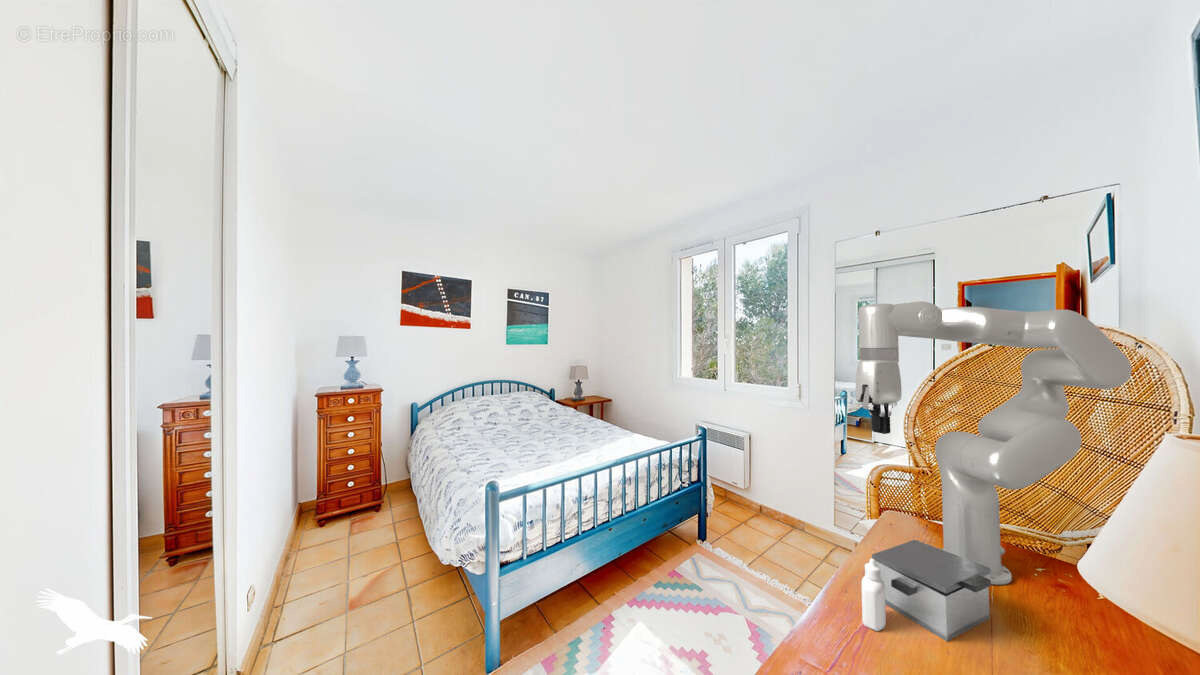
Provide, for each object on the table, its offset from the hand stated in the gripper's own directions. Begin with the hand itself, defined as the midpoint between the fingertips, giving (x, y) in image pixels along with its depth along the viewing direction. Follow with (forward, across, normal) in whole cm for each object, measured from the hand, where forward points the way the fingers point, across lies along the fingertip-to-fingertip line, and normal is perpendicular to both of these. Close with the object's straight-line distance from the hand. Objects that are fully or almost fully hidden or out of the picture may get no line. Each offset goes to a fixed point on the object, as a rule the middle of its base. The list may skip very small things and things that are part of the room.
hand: (881, 432), depth 88 cm
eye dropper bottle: (+32, +20, +10) cm, 39 cm away
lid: (+24, +6, +13) cm, 28 cm away
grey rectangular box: (+32, +6, +12) cm, 35 cm away
